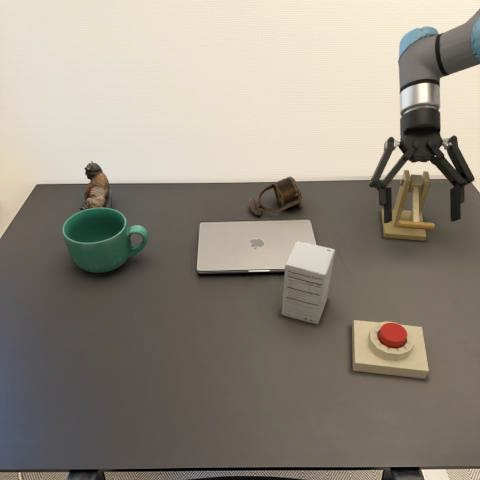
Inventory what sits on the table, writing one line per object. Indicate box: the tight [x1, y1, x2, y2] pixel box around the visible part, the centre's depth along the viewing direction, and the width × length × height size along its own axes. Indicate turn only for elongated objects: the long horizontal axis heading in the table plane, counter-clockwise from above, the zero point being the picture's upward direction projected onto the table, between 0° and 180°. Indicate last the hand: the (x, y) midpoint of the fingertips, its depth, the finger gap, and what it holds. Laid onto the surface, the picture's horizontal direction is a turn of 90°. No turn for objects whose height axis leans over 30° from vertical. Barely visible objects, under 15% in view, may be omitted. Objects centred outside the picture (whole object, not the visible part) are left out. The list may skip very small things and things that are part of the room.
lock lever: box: [398, 173, 436, 231], centre depth 98 cm, size 13×7×2 cm, turn 171°
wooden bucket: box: [248, 175, 303, 216], centre depth 111 cm, size 7×13×10 cm
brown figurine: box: [78, 160, 113, 212], centre depth 110 cm, size 12×7×10 cm, turn 5°
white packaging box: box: [281, 240, 336, 325], centre depth 86 cm, size 7×7×13 cm
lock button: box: [378, 322, 407, 348], centre depth 79 cm, size 4×4×2 cm
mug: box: [61, 207, 149, 274], centre depth 97 cm, size 17×12×10 cm
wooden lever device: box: [380, 169, 432, 242], centre depth 104 cm, size 10×9×13 cm
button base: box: [351, 319, 430, 380], centre depth 81 cm, size 12×10×4 cm
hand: (421, 221), depth 94 cm, fingers open, 13 cm apart
